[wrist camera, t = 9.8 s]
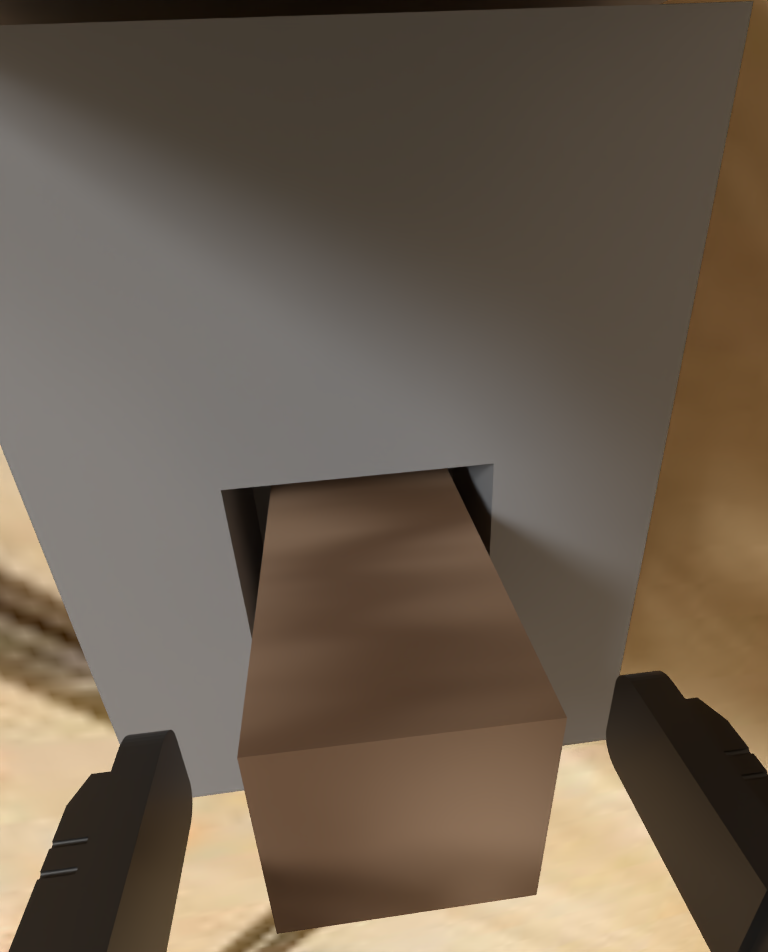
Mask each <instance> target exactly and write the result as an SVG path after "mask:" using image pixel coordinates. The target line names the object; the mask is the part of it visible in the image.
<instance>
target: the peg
mask: <svg viewBox="0 0 768 952" xmlns="http://www.w3.org/2000/svg"><path fill="white" fill-rule="evenodd" d="M566 721H567V717H566V714H565V712H564V710H563V708H562V706H561V704H560V702H559V700H558V698H557V696H556V694H555V692H554V690H553V687H552V685H551V683H550V681H549V679H548V677H547V675H546V673H545V671H544V669H543V667H542V665H541V663H540V660H539V658H538V656H537V654H536V652H535V650H534V648H533V646H532V644H531V642H530V640H529V638H528V636H527V633H526V631H525V629H524V627H523V625H522V623H521V621H520V619H519V617H518V615H517V613H516V611H515V609H514V606H513V604H512V602H511V600H510V598H509V596H508V594H507V592H506V590H505V588H504V586H503V584H502V582H501V579H500V577H499V575H498V573H497V571H496V569H495V567H494V565H493V563H492V561H491V559H490V557H489V555H488V552H487V550H486V548H485V546H484V544H483V542H482V540H481V538H480V536H479V534H478V532H477V530H476V528H475V525H474V523H473V521H472V519H471V517H470V515H469V513H468V511H467V509H466V507H465V505H464V503H463V501H462V498H461V496H460V494H459V492H458V490H457V488H456V486H455V484H454V482H453V480H452V478H451V476H450V474H449V471H448V469H447V468H443V469H433V470H422V471H412V472H402V473H392V474H382V475H371V476H361V477H351V478H341V479H330V480H320V481H310V482H300V483H289V484H279V485H271V492H270V500H269V508H268V516H267V524H266V532H265V540H264V548H263V556H262V564H261V572H260V580H259V588H258V596H257V604H256V612H255V620H254V628H253V636H252V644H251V652H250V659H249V667H248V675H247V683H246V691H245V699H244V707H243V715H242V723H241V731H240V739H239V747H238V755H237V760H238V764H239V769H240V773H241V777H242V782H243V786H244V791H245V795H246V799H247V804H248V808H249V813H250V817H251V821H252V826H253V830H254V835H255V839H256V843H257V848H258V852H259V857H260V861H261V865H262V870H263V874H264V879H265V883H266V887H267V892H268V896H269V901H270V905H271V909H272V914H273V918H274V923H275V927H276V932H277V934H278V933H285V932H292V931H298V930H305V929H312V928H318V927H325V926H332V925H338V924H345V923H352V922H358V921H365V920H372V919H378V918H385V917H392V916H398V915H405V914H412V913H418V912H425V911H432V910H438V909H445V908H452V907H458V906H465V905H472V904H478V903H485V902H492V901H498V900H505V899H512V898H518V897H525V896H532V895H536V894H537V888H538V882H539V876H540V871H541V865H542V859H543V853H544V848H545V842H546V836H547V830H548V825H549V819H550V813H551V807H552V802H553V796H554V790H555V784H556V779H557V773H558V767H559V762H560V756H561V750H562V744H563V739H564V733H565V727H566Z"/></svg>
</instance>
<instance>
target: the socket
mask: <svg viewBox="0 0 768 952" xmlns="http://www.w3.org/2000/svg"><path fill="white" fill-rule="evenodd" d="M752 6H753V1H746V2H714V3H683V4H652V5H621V6H590V7H558V8H527V9H496V10H465V11H434V12H402V13H371V14H340V15H309V16H277V17H246V18H215V19H184V20H153V21H121V22H90V23H59V24H28V25H0V445H1V447H2V450H3V452H4V455H5V457H6V460H7V462H8V465H9V467H10V470H11V472H12V475H13V477H14V480H15V482H16V485H17V487H18V490H19V492H20V495H21V497H22V500H23V502H24V505H25V508H26V510H27V513H28V515H29V518H30V520H31V523H32V525H33V528H34V530H35V533H36V535H37V538H38V540H39V543H40V545H41V548H42V550H43V553H44V555H45V558H46V560H47V563H48V565H49V568H50V570H51V573H52V575H53V578H54V580H55V583H56V585H57V588H58V590H59V593H60V595H61V598H62V600H63V603H64V605H65V608H66V610H67V613H68V615H69V618H70V620H71V623H72V625H73V628H74V630H75V633H76V635H77V638H78V640H79V643H80V645H81V648H82V650H83V653H84V655H85V658H86V660H87V663H88V665H89V668H90V671H91V673H92V676H93V678H94V681H95V683H96V686H97V688H98V691H99V693H100V696H101V698H102V701H103V703H104V706H105V708H106V711H107V713H108V716H109V718H110V721H111V723H112V726H113V728H114V731H115V733H116V736H117V738H118V741H119V743H120V744H121V742H122V740H123V739H124V738H125V737H126V736H127V735H132V734H140V733H148V732H156V731H164V730H173V731H174V733H175V735H176V738H177V741H178V745H179V748H180V751H181V754H182V758H183V761H184V764H185V767H186V770H187V774H188V777H189V780H190V784H191V789H192V797H199V796H207V795H214V794H221V793H228V792H235V791H242V790H244V786H243V782H242V777H241V773H240V769H239V764H238V760H237V755H238V747H239V739H240V731H241V723H242V715H243V707H244V699H245V691H246V683H247V675H248V667H249V659H250V652H251V644H252V636H253V628H254V620H255V612H256V604H257V596H258V588H259V580H260V572H261V564H262V556H263V548H264V540H265V532H266V524H267V516H268V508H269V500H270V492H271V485H279V484H289V483H300V482H310V481H320V480H330V479H341V478H351V477H361V476H371V475H382V474H392V473H402V472H412V471H422V470H433V469H443V468H447V469H448V471H449V474H450V476H451V478H452V480H453V482H454V484H455V486H456V488H457V490H458V492H459V494H460V496H461V498H462V501H463V503H464V505H465V507H466V509H467V511H468V513H469V515H470V517H471V519H472V521H473V523H474V525H475V528H476V530H477V532H478V534H479V536H480V538H481V540H482V542H483V544H484V546H485V548H486V550H487V552H488V555H489V557H490V559H491V561H492V563H493V565H494V567H495V569H496V571H497V573H498V575H499V577H500V579H501V582H502V584H503V586H504V588H505V590H506V592H507V594H508V596H509V598H510V600H511V602H512V604H513V606H514V609H515V611H516V613H517V615H518V617H519V619H520V621H521V623H522V625H523V627H524V629H525V631H526V633H527V636H528V638H529V640H530V642H531V644H532V646H533V648H534V650H535V652H536V654H537V656H538V658H539V660H540V663H541V665H542V667H543V669H544V671H545V673H546V675H547V677H548V679H549V681H550V683H551V685H552V687H553V690H554V692H555V694H556V696H557V698H558V700H559V702H560V704H561V706H562V708H563V710H564V712H565V714H566V717H567V721H566V727H565V733H564V739H563V744H562V746H564V745H571V744H578V743H585V742H592V741H600V740H606V728H607V723H608V718H609V713H610V708H611V702H612V697H613V692H614V687H615V682H616V680H617V678H618V677H619V675H620V670H621V665H622V660H623V655H624V650H625V645H626V640H627V635H628V630H629V625H630V620H631V615H632V610H633V605H634V600H635V595H636V590H637V585H638V579H639V574H640V569H641V564H642V559H643V554H644V549H645V544H646V539H647V534H648V529H649V524H650V519H651V514H652V509H653V504H654V499H655V494H656V489H657V484H658V479H659V474H660V469H661V464H662V459H663V454H664V449H665V444H666V439H667V434H668V429H669V424H670V419H671V414H672V409H673V403H674V398H675V393H676V388H677V383H678V378H679V373H680V368H681V363H682V358H683V353H684V348H685V343H686V338H687V333H688V328H689V323H690V318H691V313H692V308H693V303H694V298H695V293H696V288H697V283H698V278H699V273H700V268H701V263H702V258H703V253H704V248H705V243H706V238H707V232H708V227H709V222H710V217H711V212H712V207H713V202H714V197H715V192H716V187H717V182H718V177H719V172H720V167H721V162H722V157H723V152H724V147H725V142H726V137H727V132H728V127H729V122H730V117H731V112H732V107H733V102H734V97H735V92H736V87H737V82H738V77H739V72H740V67H741V61H742V56H743V51H744V46H745V41H746V36H747V31H748V26H749V21H750V16H751V11H752Z"/></svg>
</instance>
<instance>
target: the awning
mask: <svg viewBox="0 0 768 952" xmlns="http://www.w3.org/2000/svg"><path fill="white" fill-rule="evenodd" d="M665 1H667V0H0V25H28V24H59V23H90V22H121V21H153V20H184V19H215V18H246V17H277V16H309V15H340V14H371V13H402V12H434V11H465V10H496V9H527V8H558V7H590V6H621V5H652V4H661V3H663V2H665Z"/></svg>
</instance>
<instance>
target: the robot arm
mask: <svg viewBox="0 0 768 952" xmlns="http://www.w3.org/2000/svg"><path fill="white" fill-rule="evenodd" d="M606 742H607V748H608V752H609V755H610V758H611V761H612V764H613V766H614V768H615V770H616V772H617V774H618V776H619V778H620V779H621V781H622V783H623V785H624V787H625V789H626V791H627V793H628V795H629V797H630V799H631V800H632V802H633V804H634V806H635V808H636V810H637V812H638V814H639V816H640V818H641V819H642V821H643V823H644V825H645V827H646V829H647V831H648V833H649V835H650V837H651V839H652V840H653V842H654V844H655V846H656V848H657V850H658V852H659V854H660V856H661V858H662V859H663V861H664V863H665V865H666V867H667V869H668V871H669V873H670V875H671V877H672V879H673V880H674V882H675V884H676V886H677V888H678V890H679V892H680V894H681V896H682V898H683V899H684V901H685V903H686V905H687V907H688V909H689V911H690V913H691V915H692V917H693V919H694V920H695V922H696V924H697V926H698V928H699V930H700V932H701V934H702V936H703V938H704V939H705V941H706V943H707V945H708V947H709V949H710V951H711V952H768V774H767V770H766V769H765V768H764V767H763V765H762V764H761V763H760V761H759V760H758V759H757V758H756V756H755V755H754V754H751V753H750V752H749V747H748V746H747V745H746V744H745V742H744V741H743V740H742V739H741V737H740V736H739V735H738V733H737V732H736V731H735V730H734V728H733V727H732V726H731V725H730V723H729V722H728V721H727V720H726V719H725V718H724V717H722V716H721V715H720V714H718V713H717V712H716V711H714V710H713V709H712V708H710V707H709V706H708V705H706V704H705V703H704V702H703V701H701V700H700V699H699V698H691V699H685V698H684V697H683V695H682V694H681V693H680V691H679V690H678V689H677V687H676V686H675V685H674V683H673V682H672V680H671V679H670V678H669V677H668V676H667V675H666V674H665V673H663V672H661V671H652V672H644V673H636V674H628V675H621V676H619V677H618V678H617V680H616V682H615V687H614V692H613V697H612V702H611V708H610V713H609V718H608V723H607V728H606ZM191 818H192V789H191V784H190V780H189V777H188V774H187V770H186V767H185V764H184V761H183V758H182V754H181V751H180V748H179V745H178V741H177V738H176V735H175V733H174V731H173V730H164V731H156V732H148V733H140V734H132V735H127V736H126V737H125V738H124V739H123V740H122V742H121V744H120V747H119V750H118V752H117V755H116V758H115V761H114V764H113V767H112V770H111V772H104V773H96V774H91V775H90V777H89V778H88V779H87V780H86V782H85V783H84V784H83V785H82V787H81V788H80V789H79V791H78V792H77V793H76V794H75V796H74V797H73V798H72V800H71V801H70V802H69V803H68V805H67V806H66V808H65V811H64V813H63V816H62V818H61V821H60V823H59V826H58V829H57V831H56V834H55V836H54V839H53V841H52V842H53V845H52V848H51V849H49V851H48V854H47V856H46V859H45V861H44V864H43V866H42V869H41V871H40V872H41V876H40V879H39V880H37V881H36V884H35V886H34V889H33V892H32V894H31V897H30V899H29V902H28V904H27V907H26V909H25V912H24V914H23V917H22V919H21V922H20V924H19V927H18V929H17V932H16V934H15V937H14V939H13V942H12V944H11V947H10V949H9V952H166V951H167V946H168V941H169V935H170V930H171V925H172V920H173V914H174V909H175V904H176V899H177V893H178V888H179V883H180V878H181V872H182V867H183V862H184V856H185V851H186V846H187V841H188V835H189V830H190V825H191Z"/></svg>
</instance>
